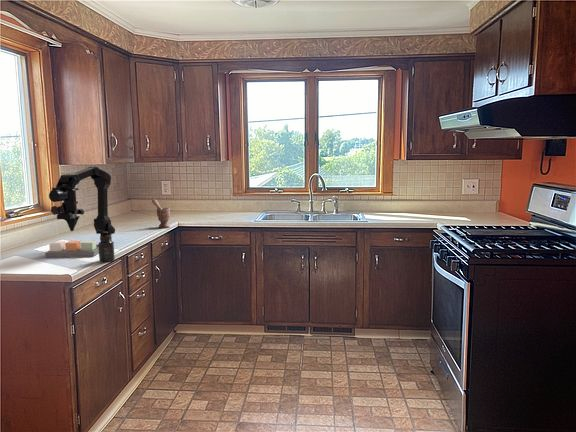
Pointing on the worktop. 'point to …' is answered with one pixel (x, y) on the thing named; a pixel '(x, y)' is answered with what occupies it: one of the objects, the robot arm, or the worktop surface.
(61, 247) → the cream button
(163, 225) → the mortar and pestle
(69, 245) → the terracotta button
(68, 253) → the console
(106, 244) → the supplement bottle
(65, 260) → the worktop surface
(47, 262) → the worktop surface
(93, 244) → the sage button
